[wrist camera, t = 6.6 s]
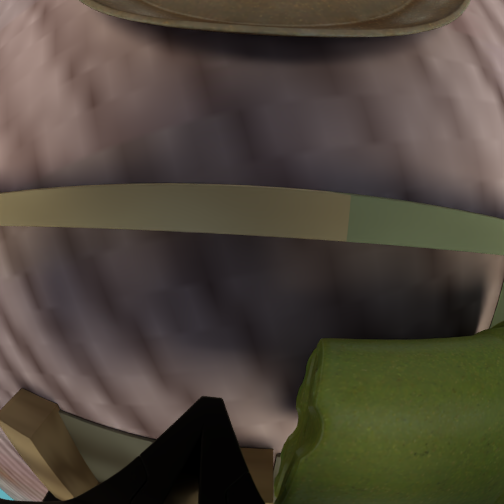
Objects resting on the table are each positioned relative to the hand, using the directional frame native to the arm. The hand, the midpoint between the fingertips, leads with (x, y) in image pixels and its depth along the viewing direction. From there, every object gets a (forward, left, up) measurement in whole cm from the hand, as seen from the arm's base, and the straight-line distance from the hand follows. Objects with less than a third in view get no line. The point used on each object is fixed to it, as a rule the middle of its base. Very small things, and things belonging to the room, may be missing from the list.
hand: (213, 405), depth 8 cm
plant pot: (0, -2, 0) cm, 2 cm away
